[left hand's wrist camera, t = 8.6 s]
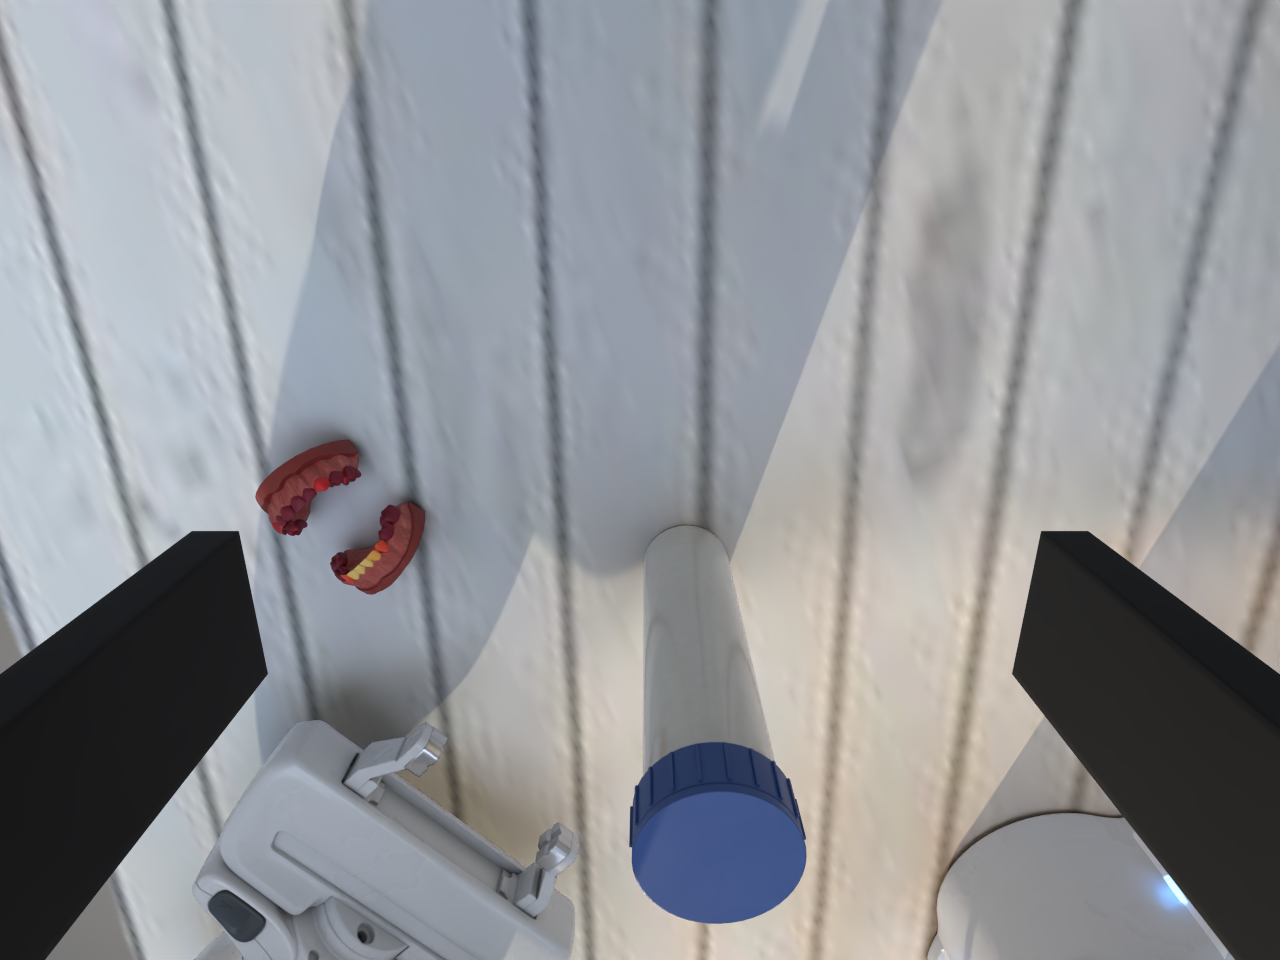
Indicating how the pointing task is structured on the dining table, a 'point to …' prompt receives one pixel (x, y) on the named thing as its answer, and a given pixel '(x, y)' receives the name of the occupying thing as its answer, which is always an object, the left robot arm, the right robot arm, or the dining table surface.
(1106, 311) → the dining table surface
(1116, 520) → the dining table surface
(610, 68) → the dining table surface
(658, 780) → the lid
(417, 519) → the dental model
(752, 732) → the white cylinder
